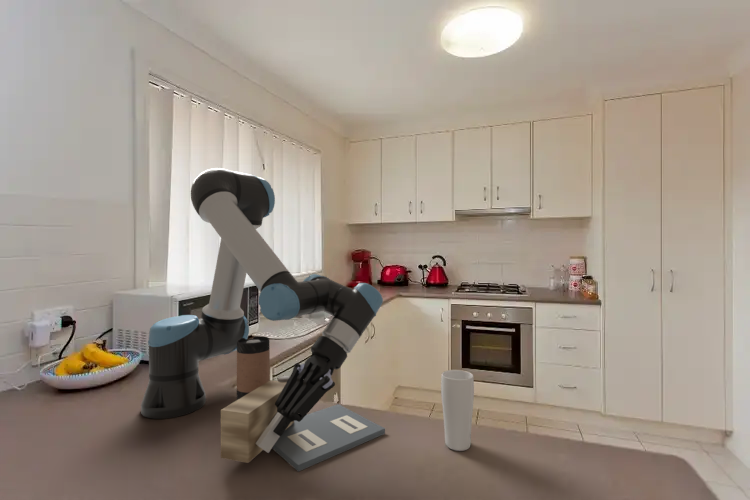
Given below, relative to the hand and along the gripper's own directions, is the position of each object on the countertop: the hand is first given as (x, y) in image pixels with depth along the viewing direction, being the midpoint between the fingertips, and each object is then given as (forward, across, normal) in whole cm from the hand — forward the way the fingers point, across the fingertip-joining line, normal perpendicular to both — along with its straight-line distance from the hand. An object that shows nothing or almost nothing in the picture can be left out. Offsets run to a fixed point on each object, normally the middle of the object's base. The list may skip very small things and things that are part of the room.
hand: (261, 448), depth 70 cm
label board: (-8, +4, -14) cm, 17 cm away
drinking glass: (-22, -19, -28) cm, 40 cm away
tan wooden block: (-2, +8, -4) cm, 9 cm away
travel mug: (-2, +20, -8) cm, 22 cm away
